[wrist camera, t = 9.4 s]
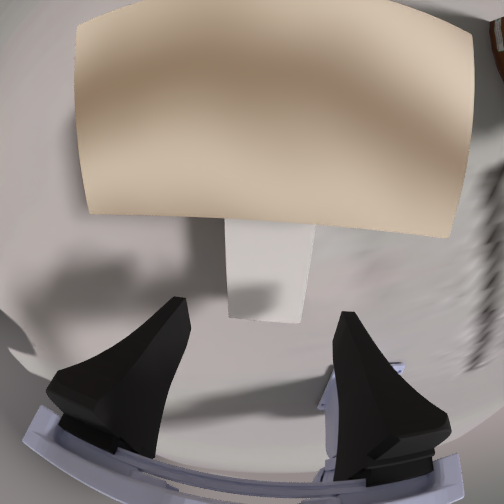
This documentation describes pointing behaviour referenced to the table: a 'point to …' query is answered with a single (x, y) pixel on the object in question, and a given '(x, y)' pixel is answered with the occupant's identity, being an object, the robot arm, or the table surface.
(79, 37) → the cubby
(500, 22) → the food container
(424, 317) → the table surface
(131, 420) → the robot arm
